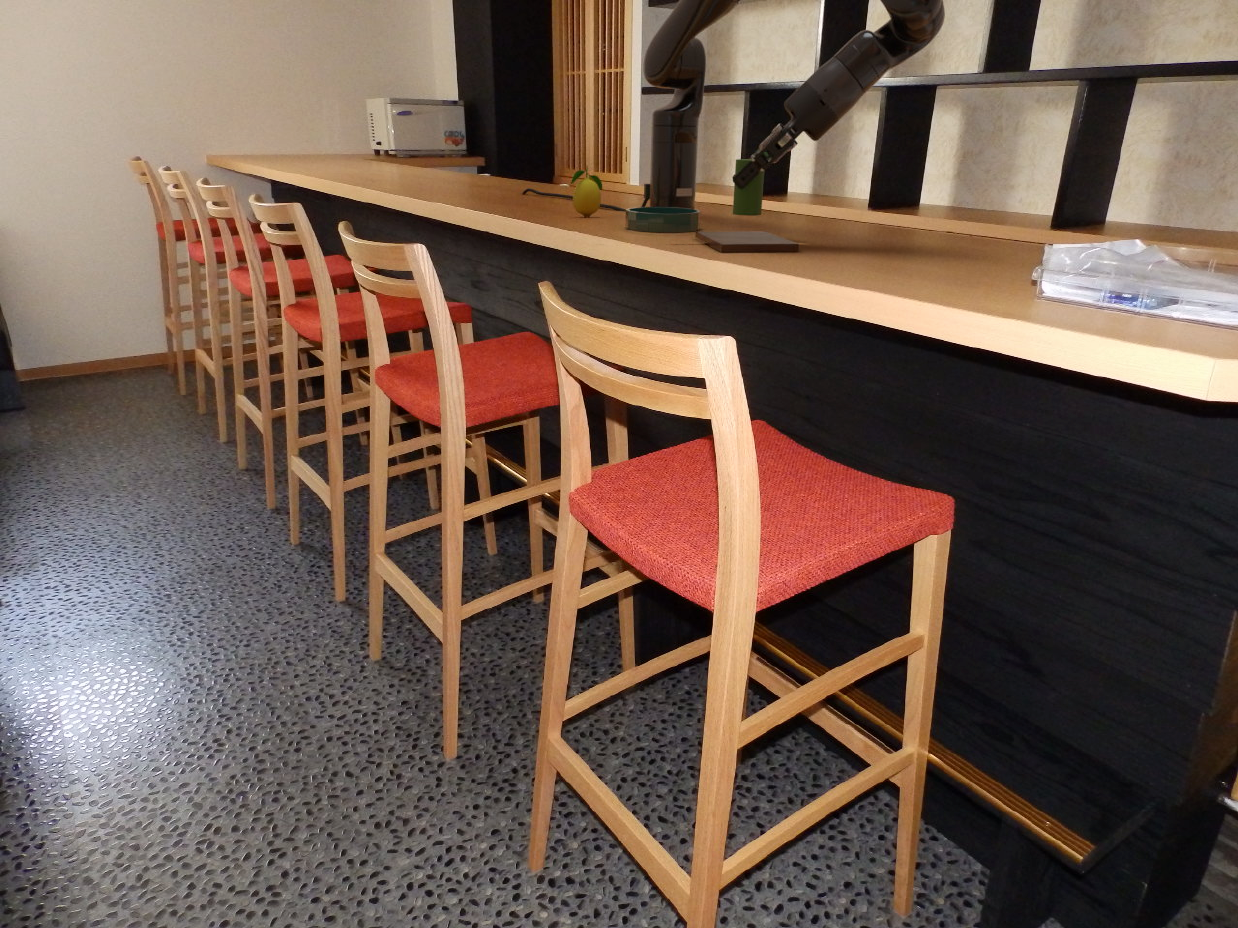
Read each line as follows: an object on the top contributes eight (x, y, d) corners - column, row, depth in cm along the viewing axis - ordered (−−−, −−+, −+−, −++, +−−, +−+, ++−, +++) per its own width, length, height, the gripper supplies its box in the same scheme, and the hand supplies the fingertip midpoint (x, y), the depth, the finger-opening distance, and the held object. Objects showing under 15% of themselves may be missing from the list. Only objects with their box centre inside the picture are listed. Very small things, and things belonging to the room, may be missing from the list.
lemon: (570, 220, 164) (570, 165, 160) (568, 217, 169) (568, 164, 166) (605, 220, 165) (605, 166, 161) (601, 217, 170) (602, 164, 166)
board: (695, 239, 139) (695, 231, 139) (764, 238, 141) (765, 231, 140) (721, 252, 124) (721, 244, 124) (798, 252, 126) (799, 243, 126)
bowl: (620, 226, 154) (620, 207, 153) (689, 226, 156) (690, 207, 155) (632, 235, 143) (633, 213, 141) (707, 234, 145) (708, 213, 143)
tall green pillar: (729, 213, 132) (732, 159, 130) (756, 213, 133) (759, 159, 130) (737, 215, 128) (740, 160, 125) (764, 215, 129) (768, 160, 126)
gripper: (803, 82, 129) (719, 164, 135) (811, 76, 116) (719, 167, 122) (834, 119, 131) (750, 199, 137) (846, 118, 118) (753, 206, 123)
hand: (736, 183), depth 129 cm, fingers closed on tall green pillar, 4 cm apart
